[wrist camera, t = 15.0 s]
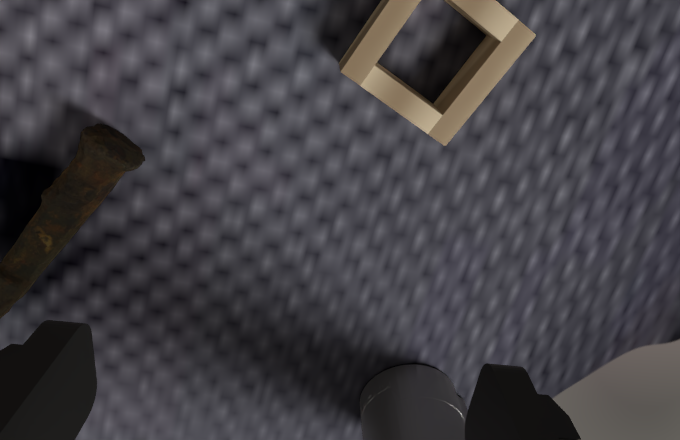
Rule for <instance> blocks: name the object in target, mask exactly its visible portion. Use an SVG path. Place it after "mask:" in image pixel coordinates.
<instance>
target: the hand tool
mask: <svg viewBox="0 0 680 440" xmlns="http://www.w3.org/2000/svg"><path fill="white" fill-rule="evenodd" d="M143 161H145V157H144V155H143V154H142V150H141V149H140V148H139V147H138V146H136V145H135V144H134V143H132V142H131V141H130V140H129V139H128V138H127V137H126V136H124V135H123V134H121V133H120V132H118V131H117V130H115V129H113V128H111V127H109V126H106V125H103V124H96V125H95V126H91V127H86V128H85V129H83V131H82V132H81V137H80V143H79V146H78V152H77V155H76V157H75V158H74V159H73V161H72V162H71V163H70V165H69V166H68V167H67V168H66V169H65V170H64V171H63V172H62V174H61V175H60V177H58V178H57V179H56V180H55V181H54V182H53V184H52V186H50V187H49V188H47V189H46V190H44V191H43V193H42V195H41V199H42V203H41V206H40V207H39V209H38V210H37V212H36V213H35V215H34V216H33V218H32V219H31V220H30V221H29V223H28V224H27V226H26V227H25V229H24V231H23V232H22V233H21V235H20V236H19V238H18V239H17V241H16V243H15V244H14V245H13V247H12V248H11V249H10V251H9V252H8V253H7V254H6V256H5V257H4V258H3V260H2V262H1V263H0V318H1V317H3V316H4V315H5V314H6V313H7V312H9V310H10V309H11V307H12V306H13V304H14V303H15V302H16V301H18V300H19V299H20V298H22V297H23V296H24V295H25V294H26V293H27V291H28V290H29V289H30V288H31V286H32V285H33V284H34V282H35V281H36V280H37V278H38V277H39V276H40V275H41V273H42V272H43V271H44V270H45V269H46V268H47V266H48V265H49V264H50V263H51V262H52V260H53V259H54V258H55V257H56V256H57V255H58V253H59V252H60V251H61V250H62V249H63V248H64V247H65V245H66V244H67V243H68V242H69V241H70V239H71V238H72V237H73V236H74V235H75V234H76V232H77V231H78V230H79V228H80V227H81V226H82V225H83V224H84V223H85V221H86V220H87V219H88V217H89V216H90V215H91V214H92V213H93V212H94V211H95V210H96V209H97V208H98V207H99V205H100V204H101V203H102V202H103V200H104V199H105V197H106V196H107V195H108V194H109V193H110V192H111V191H112V189H113V188H114V186H115V185H116V184H117V182H118V181H119V179H120V178H121V177H122V175H123V174H124V173H125V172H126V171H132V170H134V169H137V168H138V167H139V166H140V165H141V164H142V162H143Z"/></svg>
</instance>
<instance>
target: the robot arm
mask: <svg viewBox="0 0 680 440" xmlns="http://www.w3.org/2000/svg"><path fill="white" fill-rule="evenodd" d="M96 389H97V378H96V369H95V360H94V351H93V341H92V333H91V329H90V326H89V325H88V324H84V323H74V322H63V321H53V320H47V321H44V322H43V323H42V324H41V325H40V326H39V327H38V328H37V329H36V330H35V331H34V333H33V334H32V335H31V336H30V337H29V338H28V340H27V341H26V342H25V343H24V344H23V345H18V344H11V345H9V346H7V347H6V348H4V349H2V350H1V351H0V440H75V438H76V437H77V435H78V433H79V431H80V430H81V428H82V426H83V424H84V423H85V421H86V419H87V417H88V416H89V414H90V411H91V409H92V406H93V403H94V400H95V396H96ZM359 404H360V414H361V425H362V436H363V440H581V438H580V436H579V434H578V433H577V431H576V429H575V427H574V425H573V423H572V421H571V419H570V417H569V416H568V415H567V414H566V413H565V412H564V411H563V410H562V409H561V408H560V407H559V406H558V405H557V404H556V403H555V401H554V400H553V399H552V398H551V397H550V396H549V395H540V394H537V392H536V390H535V388H534V386H533V384H532V382H531V380H530V378H529V375H528V373H527V372H526V370H525V369H524V368H523V367H518V366H508V365H497V364H485V365H484V366H483V367H482V369H481V372H480V375H479V378H478V381H477V384H476V387H475V390H474V394H473V397H472V400H471V403H470V406H469V409H468V410H467V407H466V404H465V401H464V399H462V398H460V397H459V396H458V395H457V394H456V391H455V388H454V385H453V384H452V382H451V380H450V379H449V378H448V377H447V376H446V375H445V374H444V373H442V372H440V371H438V370H437V369H435V368H432V367H428V366H424V365H417V364H412V365H401V366H396V367H393V368H390V369H387V370H385V371H383V372H381V373H379V374H378V375H376V376H375V377H374V378H373V379H371V380H370V381H369V382H368V383H367V385H366V386H365V387H364V389H363V391H362V394H361V396H360V403H359Z"/></svg>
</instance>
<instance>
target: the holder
mask: <svg viewBox="0 0 680 440" xmlns="http://www.w3.org/2000/svg"><path fill="white" fill-rule="evenodd" d="M420 1H421V0H381V1H380V3H379V4H378V6H377V7H376V9H375V10H374V12H373V13H372V15H371V16H370V18H369V19H368V21H367V22H366V24H365V25H364V27H363V28H362V29H361V31H360V32H359V34H358V35H357V37H356V38H355V40H354V41H353V43H352V44H351V46H350V47H349V49H348V50H347V52H346V53H345V55H344V56H343V58H342V59H341V61H340V62H339V66H340V71H341V72H342V73H343V74H344V75H346V76H347V77H349V78H350V79H351V80H353V81H354V82H356V83H357V84H358V85H360V86H361V87H363V88H364V89H365V90H367V91H368V92H370V93H371V94H372V95H374V96H375V97H377V98H378V99H379V100H381V101H382V102H384V103H385V104H386V105H388V106H389V107H391V108H392V109H394V110H395V111H396V112H398V113H399V114H401V115H402V116H403V117H405V118H406V119H408V120H409V121H410V122H412V123H413V124H415V125H416V126H417V127H419V128H420V129H422V130H423V131H424V132H426V133H427V134H429V135H430V136H431V137H433V138H434V139H436V140H437V141H438V142H440V143H441V144H443V145H444V146H446V145H447V144H448V142H449V141H450V140H451V139H452V137H453V136H454V135H455V134H456V133H457V131H458V130H459V129H460V128H461V126H462V125H463V124H464V123H465V122H466V120H467V119H468V118H469V117H470V116H471V114H472V113H473V112H474V111H475V109H476V108H477V107H478V106H479V105H480V103H481V102H482V101H483V100H484V98H485V97H486V96H487V95H488V94H489V92H490V91H491V90H492V89H493V87H494V86H495V85H496V84H497V83H498V81H499V80H500V79H501V78H502V77H503V75H504V74H505V73H506V72H507V70H508V69H509V68H510V67H511V66H512V64H513V63H514V62H515V61H516V59H517V58H518V57H519V56H520V55H521V53H522V52H523V51H524V50H525V48H526V47H527V46H528V45H529V44H530V42H531V41H532V40H533V39H534V38H535V36H536V35H535V34H534V33H533V32H532V31H531V30H530V29H528V28H527V27H526V26H525V25H524V24H523V23H521V22H520V21H519V20H518V19H517V18H516V17H514V16H513V15H512V14H511V13H510V12H509V11H507V10H506V9H505V8H504V7H503V6H502V5H500V4H499V3H498V2H497V1H496V0H444V1H445V2H447V3H448V4H449V5H450V6H452V7H453V8H454V9H455V10H456V11H458V12H459V13H460V14H461V15H462V16H464V17H465V18H466V19H467V20H469V21H470V22H471V23H472V24H473V25H475V26H476V27H477V28H478V29H479V30H481V31H482V32H483V33H484V34H486V37H485V38H484V39H483V41H482V42H481V43H480V44H479V46H478V47H477V48H476V50H475V51H474V52H473V53H472V55H471V56H470V57H469V59H468V60H467V61H466V62H465V64H464V65H463V66H462V68H461V69H460V70H459V71H458V73H457V74H456V75H455V76H454V78H453V79H452V80H451V82H450V83H449V84H448V85H447V87H446V88H445V89H444V91H443V92H442V93H441V94H440V96H439V97H438V98H437V100H436V101H435V102H434V103H432V102H430V101H429V100H427V99H426V98H425V97H423V96H422V95H421V94H419V93H418V92H417V91H415V90H414V89H413V88H411V87H410V86H408V85H407V84H406V83H404V82H403V81H402V80H400V79H399V78H398V77H396V76H395V75H394V74H392V73H391V72H390V71H388V70H387V69H385V68H384V67H383V66H381V65H380V64H379V63H377V61H378V60H379V59H380V57H381V56H382V54H383V53H384V52H385V50H386V49H387V47H388V46H389V44H390V43H391V42H392V40H393V39H394V37H395V36H396V35H397V33H398V32H399V30H400V29H401V27H402V26H403V25H404V23H405V22H406V20H407V19H408V18H409V16H410V15H411V13H412V12H413V10H414V9H415V8H416V6H417V5H418V3H419V2H420Z"/></svg>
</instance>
